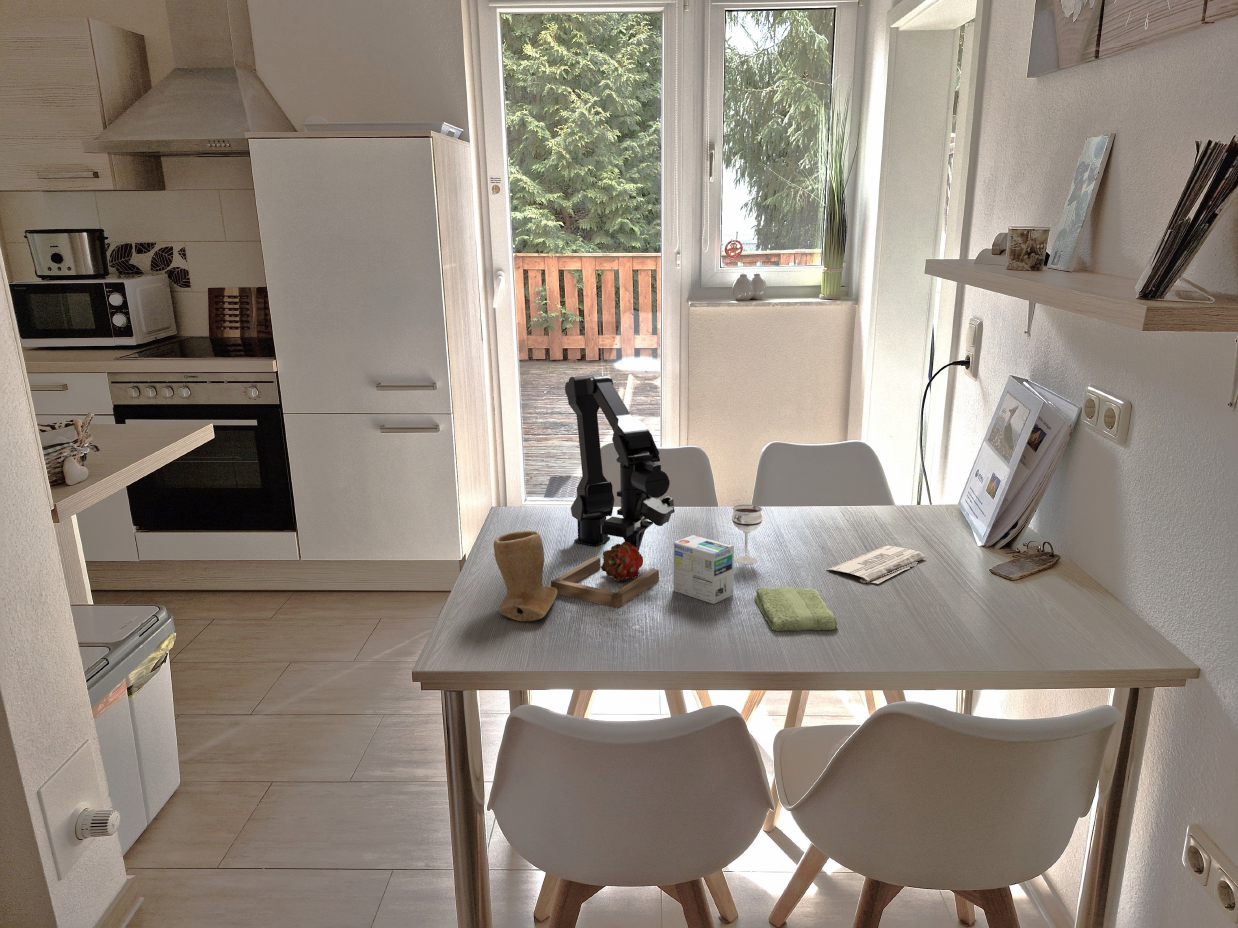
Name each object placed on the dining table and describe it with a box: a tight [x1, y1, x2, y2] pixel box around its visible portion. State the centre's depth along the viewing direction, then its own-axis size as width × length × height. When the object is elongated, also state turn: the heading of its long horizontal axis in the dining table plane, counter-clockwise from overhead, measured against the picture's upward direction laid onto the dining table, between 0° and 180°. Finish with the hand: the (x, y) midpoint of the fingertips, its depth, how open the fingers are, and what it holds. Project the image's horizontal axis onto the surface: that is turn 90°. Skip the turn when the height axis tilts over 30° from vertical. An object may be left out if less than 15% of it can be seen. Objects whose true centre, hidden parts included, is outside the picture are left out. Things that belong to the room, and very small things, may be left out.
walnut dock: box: [550, 556, 660, 609], centre depth 182 cm, size 16×16×2 cm
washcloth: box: [754, 586, 838, 632], centre depth 168 cm, size 13×18×3 cm
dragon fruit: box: [600, 541, 644, 583], centre depth 186 cm, size 8×8×12 cm
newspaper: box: [825, 545, 926, 585], centre depth 192 cm, size 23×12×2 cm, turn 130°
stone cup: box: [493, 530, 558, 622], centre depth 170 cm, size 15×12×15 cm
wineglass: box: [731, 503, 764, 565], centre depth 195 cm, size 7×7×12 cm
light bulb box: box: [673, 534, 735, 605], centre depth 177 cm, size 11×7×11 cm, turn 47°
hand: (634, 554), depth 191 cm, fingers closed
